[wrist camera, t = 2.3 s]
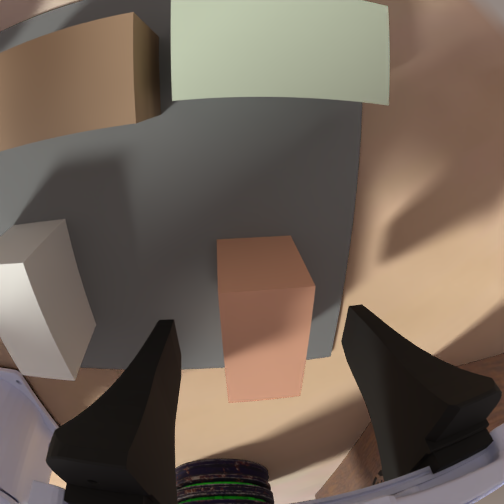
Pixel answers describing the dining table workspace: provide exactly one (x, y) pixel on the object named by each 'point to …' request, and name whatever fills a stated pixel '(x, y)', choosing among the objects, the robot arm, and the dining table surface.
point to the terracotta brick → (263, 316)
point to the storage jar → (223, 482)
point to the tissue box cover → (366, 449)
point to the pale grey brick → (43, 301)
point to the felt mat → (186, 199)
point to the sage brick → (280, 49)
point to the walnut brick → (79, 80)
